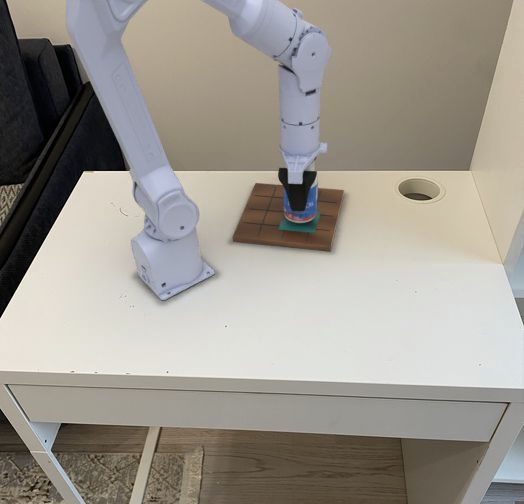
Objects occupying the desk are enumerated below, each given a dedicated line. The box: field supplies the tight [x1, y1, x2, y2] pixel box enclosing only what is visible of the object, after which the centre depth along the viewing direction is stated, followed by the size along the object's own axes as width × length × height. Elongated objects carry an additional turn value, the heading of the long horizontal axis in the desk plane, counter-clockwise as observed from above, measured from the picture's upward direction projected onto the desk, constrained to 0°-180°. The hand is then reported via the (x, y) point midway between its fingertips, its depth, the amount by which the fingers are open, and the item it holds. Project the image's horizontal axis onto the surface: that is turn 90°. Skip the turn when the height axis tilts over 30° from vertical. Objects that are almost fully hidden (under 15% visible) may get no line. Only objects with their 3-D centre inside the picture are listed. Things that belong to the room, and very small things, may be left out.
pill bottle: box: [284, 160, 319, 223], centre depth 86 cm, size 6×5×10 cm
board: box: [232, 182, 345, 252], centre depth 92 cm, size 16×16×1 cm
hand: (299, 199), depth 87 cm, fingers closed on pill bottle, 5 cm apart
